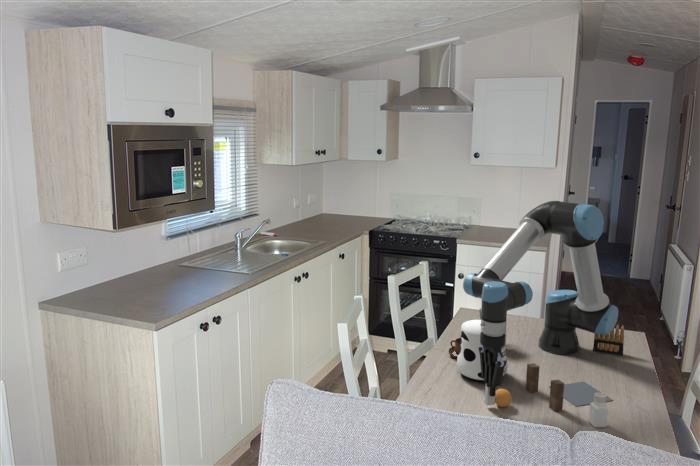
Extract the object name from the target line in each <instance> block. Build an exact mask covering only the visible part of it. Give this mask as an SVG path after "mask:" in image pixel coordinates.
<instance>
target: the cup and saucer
mask: <svg viewBox="0 0 700 466" xmlns="http://www.w3.org/2000/svg"><path fill="white" fill-rule="evenodd" d="M453 343H454V345H453ZM460 345H461V337H457V338H456V339H455V340H451V341H450V348H449V349H448V354H449V355H450V356H451V357H453V358H454V359H457V356H454V355H453V354H452V353H453V352H454V351H455V352H456V354H457V355H458V354H459V351H460Z"/></svg>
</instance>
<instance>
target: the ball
mask: <svg viewBox="0 0 700 466" xmlns="http://www.w3.org/2000/svg"><path fill="white" fill-rule="evenodd" d="M512 398H513V397H512V395H511V393H510V392H509V391H508V390H507V389H505V388H498V389H496V395H495V405H497V406H498V407H501V408H502V407H503V408H506V407H508V406H509V405H511V402H512Z"/></svg>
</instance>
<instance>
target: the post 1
mask: <svg viewBox="0 0 700 466" xmlns="http://www.w3.org/2000/svg"><path fill="white" fill-rule="evenodd" d="M525 378H526V379H525V390H526V391H527V392H528V393H530V394H533V393H539V383H540V382H539V381H540V379H539V378H540V365H538V364H536V363H534V362H533V363H532V362H531V363H528V364H526V377H525Z"/></svg>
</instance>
